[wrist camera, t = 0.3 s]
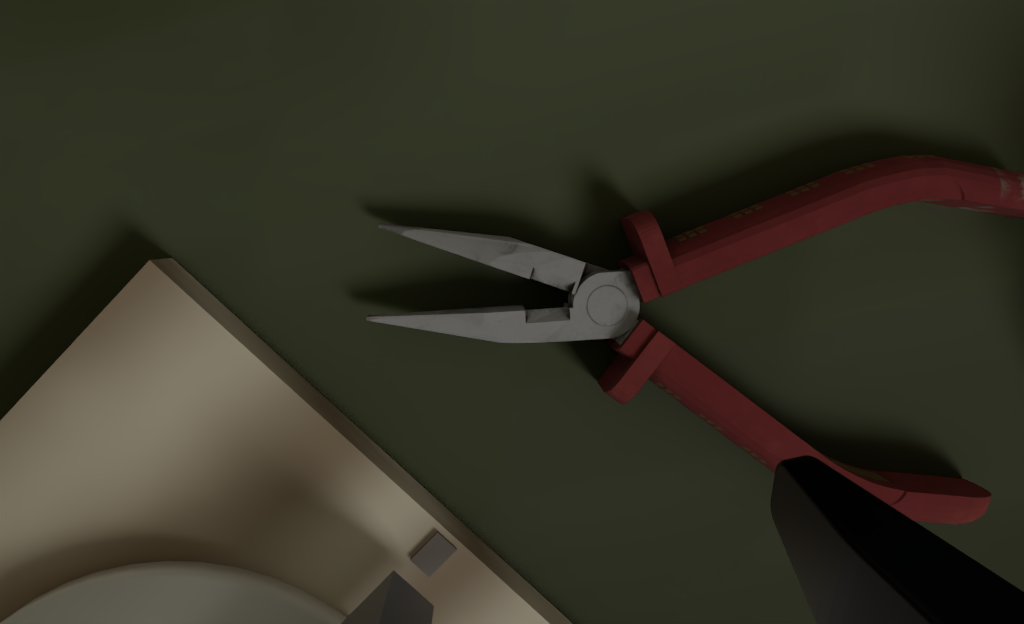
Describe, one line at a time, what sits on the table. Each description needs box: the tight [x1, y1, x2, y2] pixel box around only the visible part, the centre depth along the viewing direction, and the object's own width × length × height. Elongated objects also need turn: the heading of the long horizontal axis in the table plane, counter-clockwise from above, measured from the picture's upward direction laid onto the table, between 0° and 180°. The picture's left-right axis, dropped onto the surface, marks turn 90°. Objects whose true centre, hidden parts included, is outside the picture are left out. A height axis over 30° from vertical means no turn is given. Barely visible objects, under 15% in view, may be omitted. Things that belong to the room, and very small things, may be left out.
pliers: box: [366, 155, 1024, 524], centre depth 22 cm, size 12×20×3 cm, turn 82°
